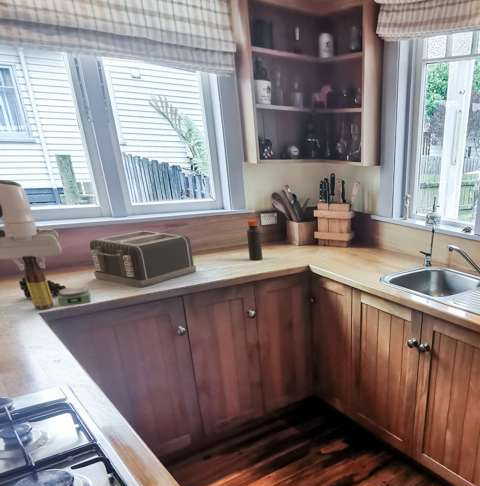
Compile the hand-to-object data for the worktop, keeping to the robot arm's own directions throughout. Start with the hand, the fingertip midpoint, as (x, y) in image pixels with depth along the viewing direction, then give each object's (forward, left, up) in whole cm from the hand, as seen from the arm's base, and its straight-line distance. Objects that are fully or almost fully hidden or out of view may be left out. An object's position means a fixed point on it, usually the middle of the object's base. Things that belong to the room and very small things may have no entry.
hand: (33, 269), depth 168 cm
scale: (+10, +5, -15) cm, 18 cm away
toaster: (+36, +32, -15) cm, 50 cm away
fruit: (-1, +14, -15) cm, 21 cm away
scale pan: (+10, +5, -11) cm, 16 cm away
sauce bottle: (0, 0, -15) cm, 15 cm away
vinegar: (+92, +45, -15) cm, 103 cm away
